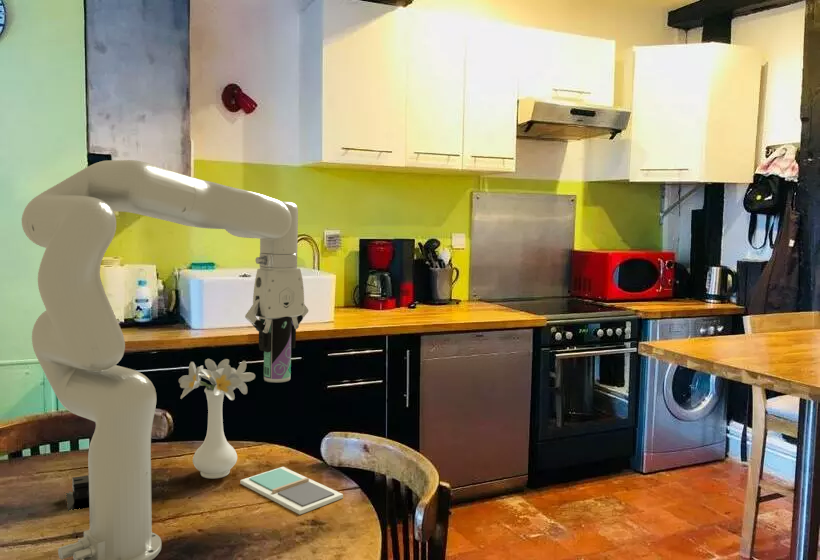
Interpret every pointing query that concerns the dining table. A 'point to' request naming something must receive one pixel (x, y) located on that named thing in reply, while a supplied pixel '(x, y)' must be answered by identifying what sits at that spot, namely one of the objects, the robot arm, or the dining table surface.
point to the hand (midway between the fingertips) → (277, 348)
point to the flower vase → (216, 413)
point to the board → (291, 490)
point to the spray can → (279, 350)
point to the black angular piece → (79, 493)
